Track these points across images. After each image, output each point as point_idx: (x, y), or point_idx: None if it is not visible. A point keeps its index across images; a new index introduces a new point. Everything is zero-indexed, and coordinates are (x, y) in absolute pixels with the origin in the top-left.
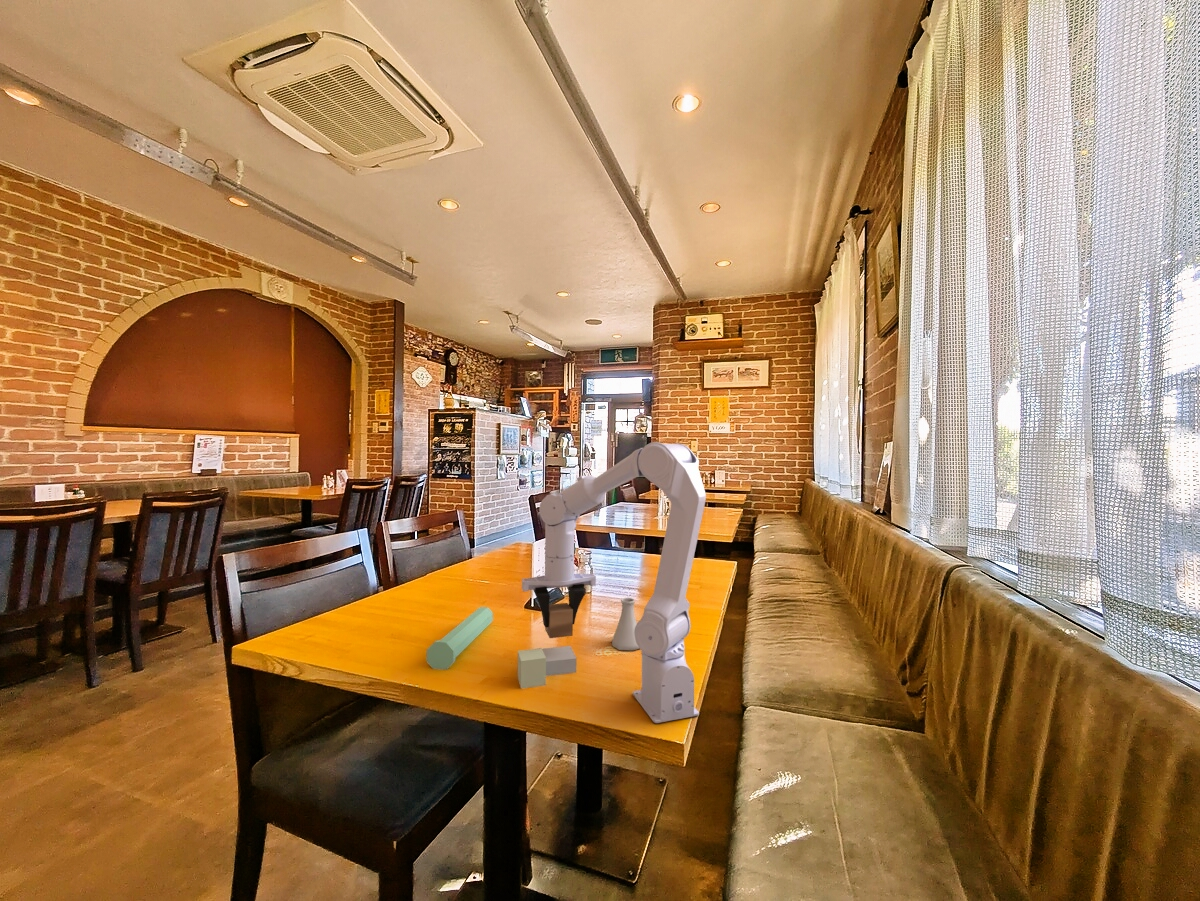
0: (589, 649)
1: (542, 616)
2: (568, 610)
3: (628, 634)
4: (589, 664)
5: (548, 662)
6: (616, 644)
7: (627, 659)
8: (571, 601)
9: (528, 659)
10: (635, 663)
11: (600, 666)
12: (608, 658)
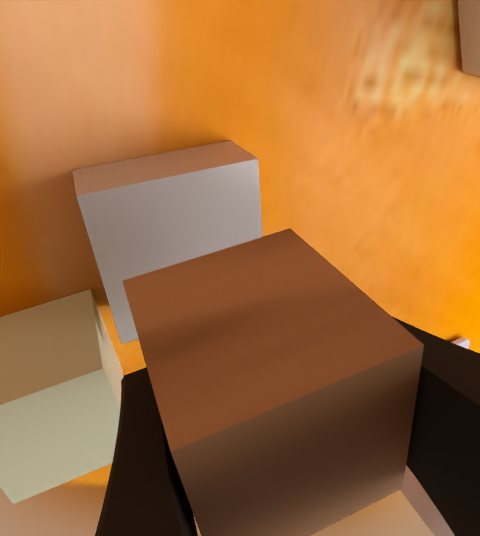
0: (343, 23)
1: (120, 424)
2: (369, 503)
3: None
4: (304, 201)
5: (135, 336)
6: (476, 34)
7: (447, 160)
8: (457, 484)
9: (49, 484)
10: (455, 195)
11: (339, 218)
12: (389, 146)
